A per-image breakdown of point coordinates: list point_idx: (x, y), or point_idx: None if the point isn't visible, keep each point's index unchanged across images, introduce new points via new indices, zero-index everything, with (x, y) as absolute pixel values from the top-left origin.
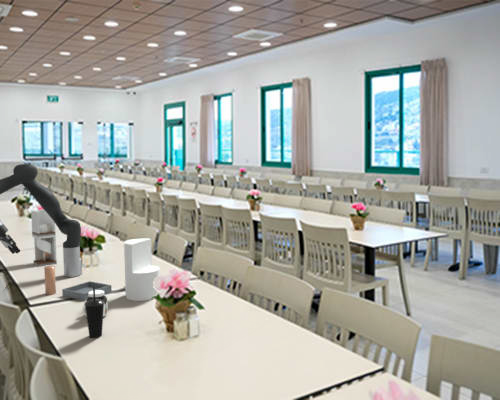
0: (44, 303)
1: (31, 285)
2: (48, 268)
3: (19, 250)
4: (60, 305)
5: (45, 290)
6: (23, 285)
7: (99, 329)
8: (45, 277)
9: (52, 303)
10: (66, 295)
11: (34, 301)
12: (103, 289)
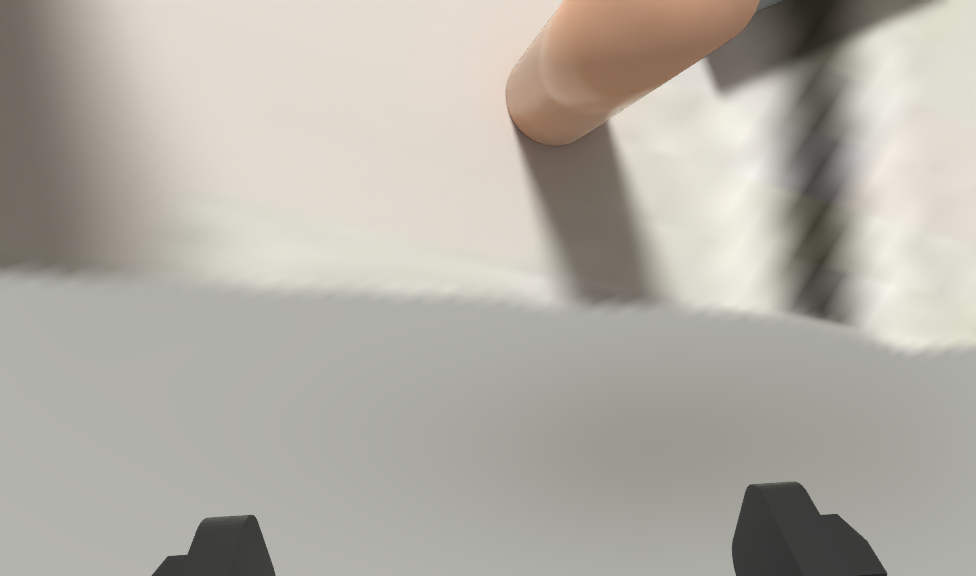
0: (818, 231)
1: (75, 175)
2: (754, 12)
3: (842, 519)
4: (934, 140)
5: (564, 136)
6: (10, 255)
7: None
8: (642, 94)
9: (853, 176)
10: None
11: (718, 289)
12: None
